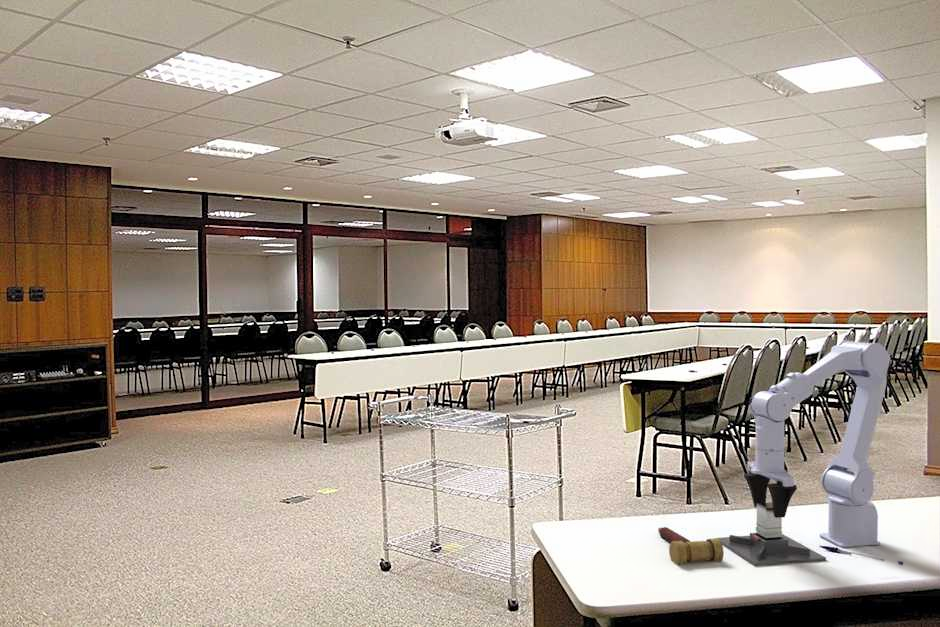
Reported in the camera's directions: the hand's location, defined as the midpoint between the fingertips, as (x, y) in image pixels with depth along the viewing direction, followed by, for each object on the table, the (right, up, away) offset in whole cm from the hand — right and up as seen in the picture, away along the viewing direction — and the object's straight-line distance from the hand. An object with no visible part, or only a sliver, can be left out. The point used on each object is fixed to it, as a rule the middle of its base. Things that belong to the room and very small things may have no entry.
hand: (769, 511), depth 167 cm
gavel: (-19, -9, +3) cm, 21 cm away
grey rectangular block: (0, -6, 0) cm, 6 cm away
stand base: (0, -8, 0) cm, 8 cm away
